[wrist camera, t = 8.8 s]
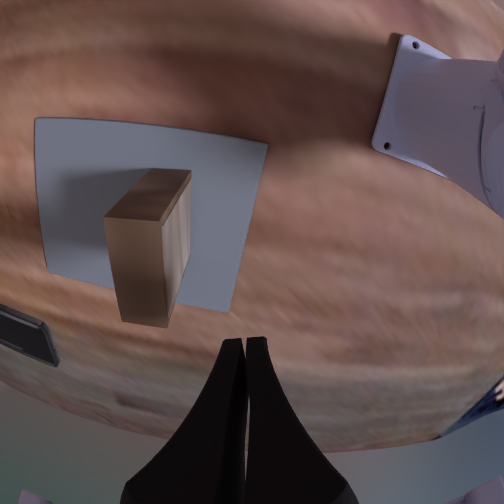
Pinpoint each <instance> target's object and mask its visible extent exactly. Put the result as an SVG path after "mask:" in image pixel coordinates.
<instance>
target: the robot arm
mask: <svg viewBox="0 0 504 504" xmlns="http://www.w3.org/2000/svg"><path fill="white" fill-rule="evenodd" d="M413 42H414V43H415V44H416V45H417V48H416V49H415V48H413V46H412V43H413ZM386 142H388V143H389V147H388V148H387V149H384V144H385V143H386ZM371 144H372V147H373V148H374V149H375V150H377V151H379V152H382V153H385V154H388V155H390V156H393V157H396V158H399V159H401V160H404V161H406V162H409V163H412V164H414V165H417V166H419V167H421V168H424V169H426V170H429V171H431V172H433V173H436V174H438V175H440V176H443V177H445V178H447V179H449V180H452V181H453V182H455V183H456V184H457V185H459V186H460V187H462V188H463V189H465V190H466V191H467V192H469V193H470V194H471V195H473V196H474V197H476V198H477V199H478V200H480V201H481V202H482V203H483V204H485V205H486V206H487V207H489V208H490V209H491V210H492V211H494V212H495V213H496V214H498V215H499V216H500V217H501V218H502V219H503V220H504V49H503V52H502V54H501V57H500V58H499V59H498V61H497V62H495V61H483V60H467V59H452V58H450V57H449V56H447V55H445V54H444V53H442V52H440V51H439V50H437V49H435V48H433V47H432V46H430V45H428V44H426V43H424V42H422V41H420V40H419V39H417V38H415V37H413V36H411V35H408V34H407V35H402V36H401V37H400V39H399V44H398V48H397V52H396V56H395V60H394V64H393V68H392V72H391V76H390V79H389V83H388V87H387V90H386V94H385V97H384V101H383V104H382V108H381V111H380V115H379V118H378V121H377V125H376V128H375V131H374V134H373V138H372V142H371ZM249 398H250V421H249V442H248V458H247V472H246V482H245V434H246V423H247V412H248V399H249ZM19 504H53V503H52V502H50V501H48V500H46V499H44V498H42V497H40V496H38V495H36V494H34V493H31V492H29V491H27V490H25V489H22V493H21V496H20V501H19ZM120 504H359V502H358V500H357V497H356V496H355V494H354V492H353V491H352V489H351V487H350V485H349V484H348V482H347V481H346V480H345V479H344V477H343V476H342V475H341V474H340V473H339V472H338V471H337V470H336V469H335V468H334V467H333V466H332V464H331V463H330V462H329V461H328V460H327V458H326V457H325V456H324V455H323V454H322V452H321V451H320V450H319V448H318V447H317V446H316V444H315V443H314V442H313V440H312V439H311V437H310V436H309V435H308V433H307V432H306V430H305V429H304V427H303V426H302V424H301V423H300V421H299V419H298V418H297V416H296V414H295V413H294V411H293V409H292V407H291V405H290V404H289V402H288V400H287V398H286V396H285V394H284V392H283V390H282V388H281V385H280V383H279V381H278V378H277V376H276V373H275V371H274V368H273V365H272V362H271V359H270V356H269V352H268V346H267V338H265V337H264V336H262V337H250V338H247V343H246V358H245V354H244V349H243V344H242V340H241V338H237V339H225V340H224V341H223V343H222V346H221V349H220V352H219V354H218V357H217V359H216V362H215V364H214V367H213V369H212V371H211V373H210V375H209V377H208V380H207V382H206V384H205V386H204V388H203V390H202V391H201V393H200V395H199V397H198V398H197V400H196V402H195V404H194V406H193V407H192V409H191V410H190V412H189V414H188V415H187V417H186V418H185V420H184V421H183V422H182V424H181V425H180V427H179V428H178V429H177V431H176V432H175V433H174V434H173V436H172V437H171V438H170V440H169V441H168V442H167V443H166V445H165V446H164V447H163V448H162V449H161V450H160V451H159V452H158V453H157V454H156V455H155V456H154V457H153V459H152V460H151V461H150V462H149V463H148V464H147V465H146V466H145V467H143V468H142V469H141V470H140V471H139V472H138V473H137V474H135V475H134V476H133V477H132V478H131V479H130V480H129V481H127V482H126V484H125V487H124V490H123V492H122V495H121V500H120ZM446 504H504V484H503V480H502V477H501V476H500V475H499V476H497V477H495V478H493V479H492V480H490V481H488V482H486V483H484V484H482V485H480V486H479V487H477V488H475V489H473V490H471V491H469V492H468V493H466V494H465V495H464V496H461V497H459V498H457V499H455V500H453V501H450V502H448V503H446Z"/></svg>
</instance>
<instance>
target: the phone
mask: <svg viewBox="0 0 504 504" xmlns="http://www.w3.org/2000/svg"><path fill="white" fill-rule="evenodd" d="M0 344H2V345H4V346H6V347H8V348H10V349H13V350H15V351H17V352H19V353H21V354H23V355H26V356H28V357H30V358H33V359H35V360H37V361H40V362H42V363H45V364H47V365H50V366H52V367H57V366H58V364H59V362H60V359H59V356H58V353H57V350H56V347H55V345H54V342H53V338H52V335H51V332H50V329H49V327H48V326H47V325H46V324H45V323H44V322H43V321H41V320H39V319H36V318H34V317H31V316H29V315H26V314H24V313H21V312H19V311H16V310H14V309H11V308H9V307H7V306H4V305H2V304H0ZM53 346H54V349H55V351H54V349H53Z"/></svg>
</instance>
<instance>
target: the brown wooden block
mask: <svg viewBox="0 0 504 504" xmlns="http://www.w3.org/2000/svg"><path fill="white" fill-rule="evenodd" d="M191 177H192V170H183V169H164V168H152V169H151V170H150V171H149V172H147V173H146V174H145V175H144V176H143V177H142V178H141V179H140V180H139V181H138V182H137V183H136V184H135V185H134V186H133V187H132V188H131V189H130V190H129V191H128V192H127V193H126V194H125V195H124V196H123V197H122V198H121V199H120V200H119V201H118V202H117V203H116V204H115V205H114V206H113V207H112V208H111V210H110V211H109V212H108V213H107V214H106V215H105V216H104V217H103V219H104V227H105V234H106V241H107V248H108V254H109V260H110V266H111V271H112V277H113V282H114V287H115V292H116V297H117V301H118V306H119V310H120V315H121V319H122V322H128V323H134V324H141V325H147V326H154V327H161V328H167V327H168V324H169V320H170V317H171V314H172V311H173V307H174V304H175V301H176V298H177V294H178V291H179V288H180V285H181V282H182V279H183V275H184V272H185V269H186V266H187V263H188V260H189V257H190V218H191Z"/></svg>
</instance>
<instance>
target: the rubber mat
mask: <svg viewBox="0 0 504 504" xmlns="http://www.w3.org/2000/svg"><path fill="white" fill-rule="evenodd" d="M267 149H268V144H267V143H262V142H257V141H253V140H248V139H243V138H238V137H233V136H227V135H222V134H216V133H210V132H205V131H198V130H192V129H185V128H179V127H171V126H164V125H156V124H147V123H138V122H128V121H117V120H104V119H88V118H64V117H38V118H35V166H36V185H37V198H38V208H39V217H40V225H41V232H42V239H43V245H44V251H45V257H46V262H47V268H48V272H50V273H53V274H57V275H61V276H64V277H68V278H72V279H75V280H79V281H83V282H87V283H91V284H95V285H99V286H103V287H107V288H111V289H115V287H114V282H113V277H112V271H111V266H110V260H109V254H108V248H107V241H106V234H105V227H104V219H103V217H104V216H105V215H106V214H107V213H108V212H109V211H110V210H111V208H112V207H113V206H114V205H115V204H116V203H117V202H118V201H119V200H120V199H121V198H122V197H123V196H124V195H125V194H126V193H127V192H128V191H129V190H130V189H131V188H132V187H133V186H134V185H135V184H136V183H137V182H138V181H139V180H140V179H141V178H142V177H143V176H144V175H145V174H146V173H147V172H149V171H150V170H151V169H152V168H164V169H183V170H192V177H191V218H190V257H189V260H188V263H187V266H186V269H185V272H184V275H183V279H182V282H181V285H180V288H179V291H178V294H177V298H176V301H175V303H179V304H184V305H190V306H195V307H200V308H205V309H211V310H216V311H222V312H227V313H229V309H230V305H231V300H232V296H233V292H234V287H235V283H236V279H237V275H238V270H239V266H240V262H241V258H242V253H243V249H244V245H245V241H246V236H247V232H248V228H249V224H250V220H251V215H252V211H253V207H254V203H255V199H256V195H257V190H258V186H259V182H260V178H261V174H262V170H263V166H264V162H265V157H266V153H267Z"/></svg>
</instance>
